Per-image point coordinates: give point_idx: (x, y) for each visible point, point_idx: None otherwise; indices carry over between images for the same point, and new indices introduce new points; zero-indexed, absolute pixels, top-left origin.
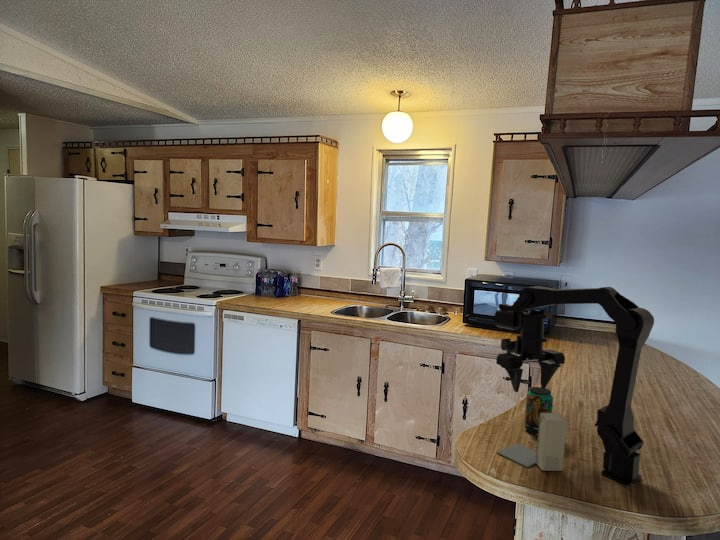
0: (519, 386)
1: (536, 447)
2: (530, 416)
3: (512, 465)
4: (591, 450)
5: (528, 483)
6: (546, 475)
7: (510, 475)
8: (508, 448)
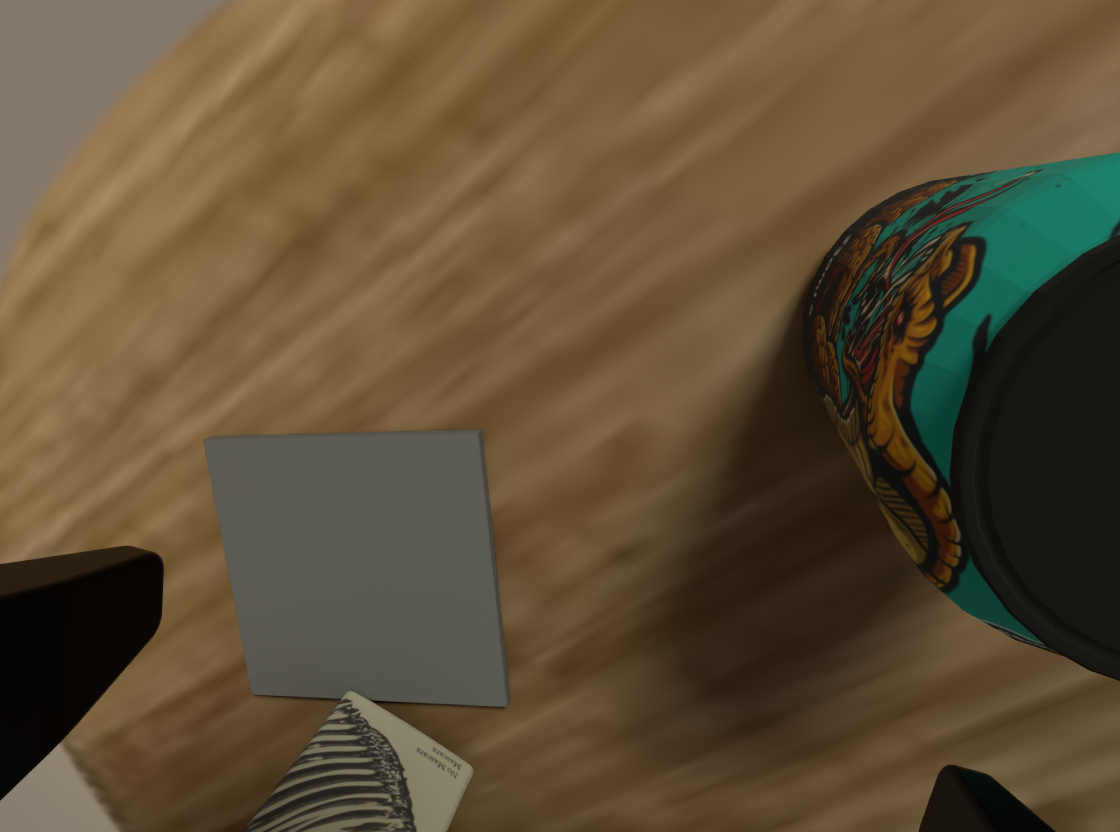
0: (36, 764)
1: (288, 771)
2: (824, 350)
3: (195, 612)
4: None
5: (136, 784)
6: None
7: None
8: (328, 452)
